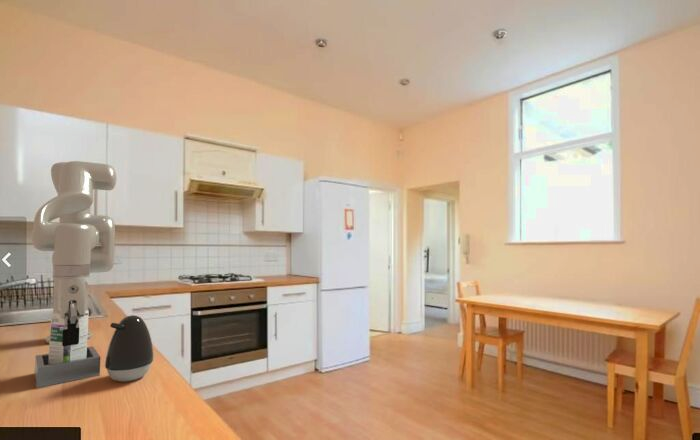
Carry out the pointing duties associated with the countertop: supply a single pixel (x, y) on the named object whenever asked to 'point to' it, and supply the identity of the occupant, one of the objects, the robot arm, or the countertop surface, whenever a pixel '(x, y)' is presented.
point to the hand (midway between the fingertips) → (68, 340)
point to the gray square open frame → (66, 369)
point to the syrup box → (56, 334)
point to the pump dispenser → (129, 350)
